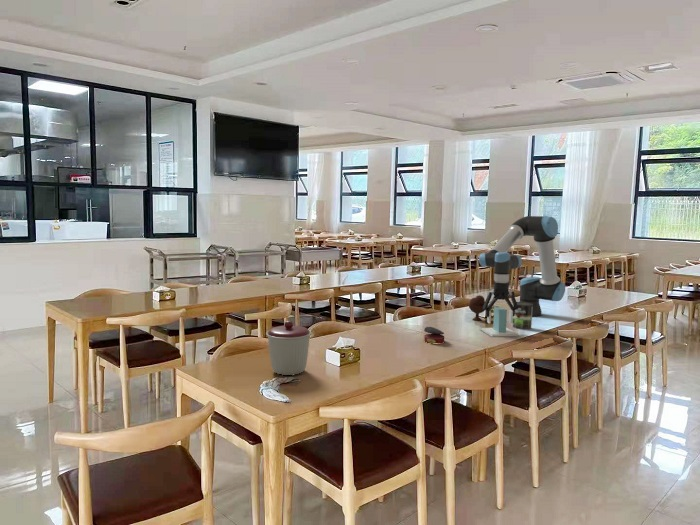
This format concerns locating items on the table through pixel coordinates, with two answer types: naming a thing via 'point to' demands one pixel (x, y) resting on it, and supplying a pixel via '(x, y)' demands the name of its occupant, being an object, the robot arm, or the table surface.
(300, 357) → the canister
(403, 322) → the table surface
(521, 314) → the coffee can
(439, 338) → the canned food
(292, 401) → the table surface
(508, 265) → the robot arm
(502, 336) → the mat
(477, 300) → the ice cream bowl
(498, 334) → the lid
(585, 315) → the table surface
